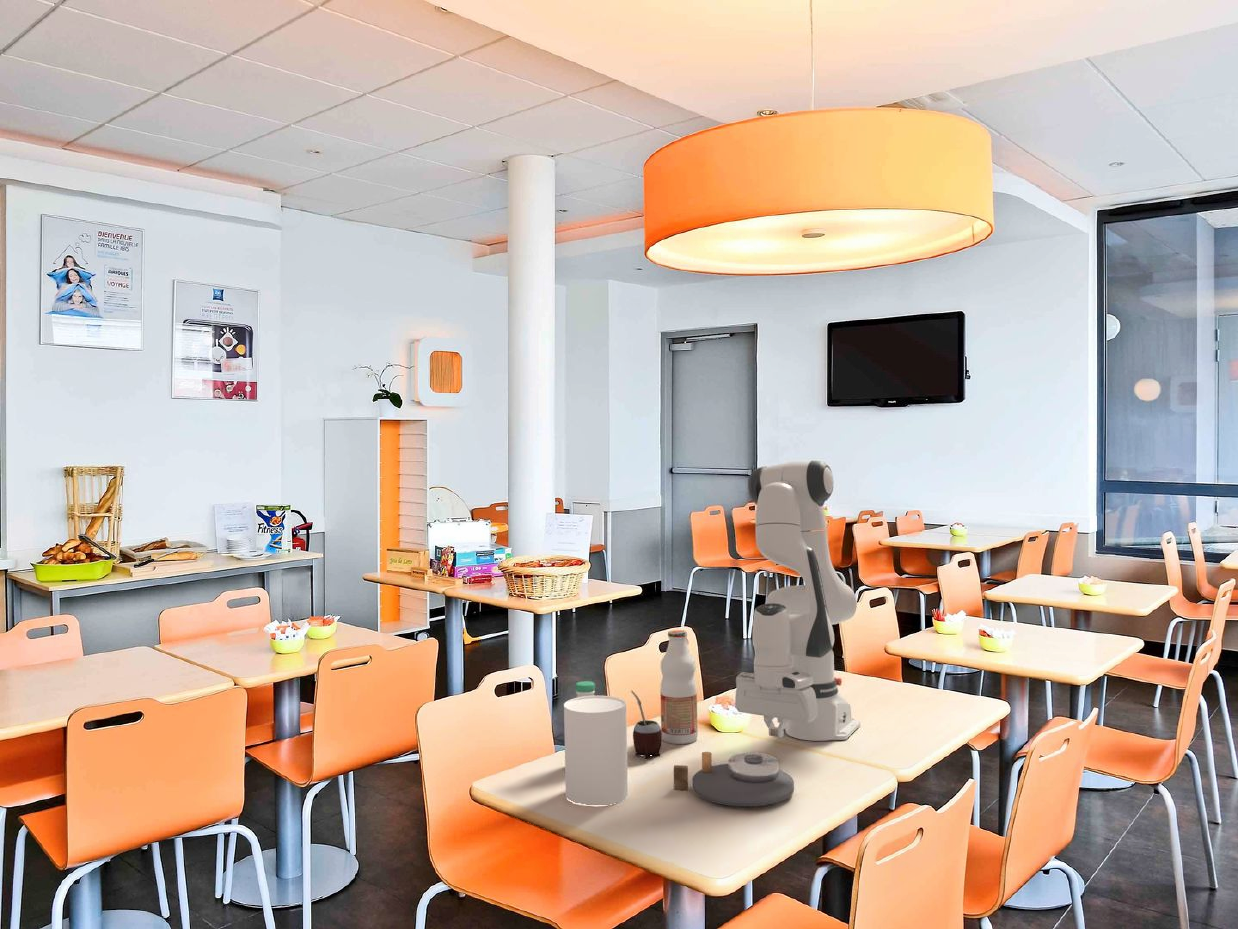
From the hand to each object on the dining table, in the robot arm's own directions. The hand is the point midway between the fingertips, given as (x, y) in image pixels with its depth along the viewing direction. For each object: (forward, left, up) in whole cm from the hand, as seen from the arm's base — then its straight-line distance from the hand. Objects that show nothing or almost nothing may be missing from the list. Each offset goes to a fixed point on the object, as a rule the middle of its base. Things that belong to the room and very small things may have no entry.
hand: (776, 736), depth 213 cm
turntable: (+14, 0, -9) cm, 17 cm away
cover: (+10, 0, -6) cm, 12 cm away
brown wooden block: (+21, -12, -9) cm, 26 cm away
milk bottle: (+23, -38, -9) cm, 45 cm away
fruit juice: (-7, -33, -9) cm, 35 cm away
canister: (+35, -24, -9) cm, 44 cm away
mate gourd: (+8, -32, -9) cm, 34 cm away
